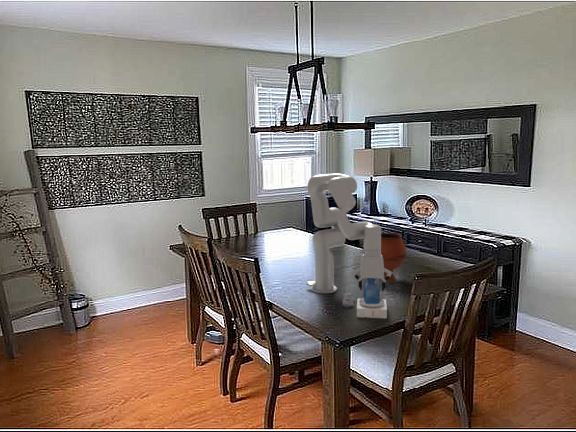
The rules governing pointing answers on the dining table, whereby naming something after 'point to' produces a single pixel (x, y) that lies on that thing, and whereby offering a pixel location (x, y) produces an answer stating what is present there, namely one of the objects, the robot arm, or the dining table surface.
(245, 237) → the dining table surface
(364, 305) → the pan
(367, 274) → the robot arm
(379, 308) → the scale
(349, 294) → the ring
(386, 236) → the goblet
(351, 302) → the spacer
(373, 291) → the perfume bottle
